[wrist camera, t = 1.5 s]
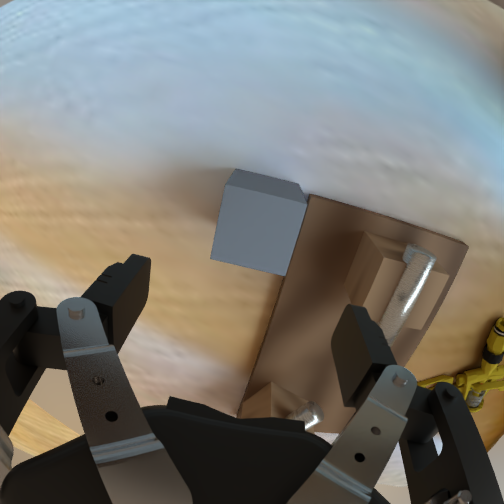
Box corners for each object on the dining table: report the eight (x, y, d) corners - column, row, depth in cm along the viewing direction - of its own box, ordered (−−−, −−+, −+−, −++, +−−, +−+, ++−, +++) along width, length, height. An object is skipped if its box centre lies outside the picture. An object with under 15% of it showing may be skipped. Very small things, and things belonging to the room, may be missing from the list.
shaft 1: (322, 406, 28) (325, 424, 26) (264, 441, 31) (264, 458, 29) (305, 397, 28) (307, 416, 26) (248, 434, 31) (246, 452, 29)
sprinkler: (555, 324, 24) (514, 406, 29) (541, 307, 27) (506, 388, 33) (430, 341, 28) (401, 427, 33) (421, 319, 31) (398, 405, 37)
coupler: (299, 183, 24) (307, 204, 19) (282, 241, 26) (285, 276, 21) (235, 168, 24) (225, 184, 18) (223, 227, 26) (210, 258, 20)
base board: (463, 242, 25) (497, 271, 20) (353, 428, 36) (359, 464, 31) (309, 193, 24) (321, 216, 19) (236, 414, 36) (232, 453, 30)
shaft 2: (427, 248, 21) (441, 262, 19) (381, 342, 25) (389, 361, 22) (402, 240, 21) (415, 254, 19) (357, 338, 25) (363, 357, 22)
